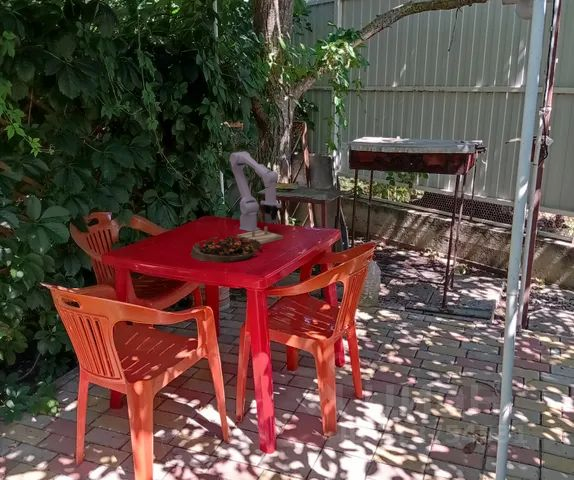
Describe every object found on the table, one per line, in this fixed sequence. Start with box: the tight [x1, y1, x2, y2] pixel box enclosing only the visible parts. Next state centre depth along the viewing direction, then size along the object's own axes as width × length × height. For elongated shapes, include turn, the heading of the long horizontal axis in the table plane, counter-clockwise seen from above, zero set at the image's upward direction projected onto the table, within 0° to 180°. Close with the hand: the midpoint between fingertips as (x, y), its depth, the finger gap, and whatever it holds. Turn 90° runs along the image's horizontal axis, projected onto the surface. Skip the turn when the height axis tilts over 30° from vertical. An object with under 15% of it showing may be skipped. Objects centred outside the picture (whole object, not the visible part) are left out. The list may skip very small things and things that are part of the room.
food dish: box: [189, 235, 263, 263], centre depth 286 cm, size 35×33×8 cm
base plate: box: [236, 225, 284, 245], centre depth 312 cm, size 19×16×6 cm
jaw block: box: [264, 212, 279, 224], centre depth 319 cm, size 4×6×5 cm, turn 134°
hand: (271, 219), depth 319 cm, fingers closed on jaw block, 4 cm apart
